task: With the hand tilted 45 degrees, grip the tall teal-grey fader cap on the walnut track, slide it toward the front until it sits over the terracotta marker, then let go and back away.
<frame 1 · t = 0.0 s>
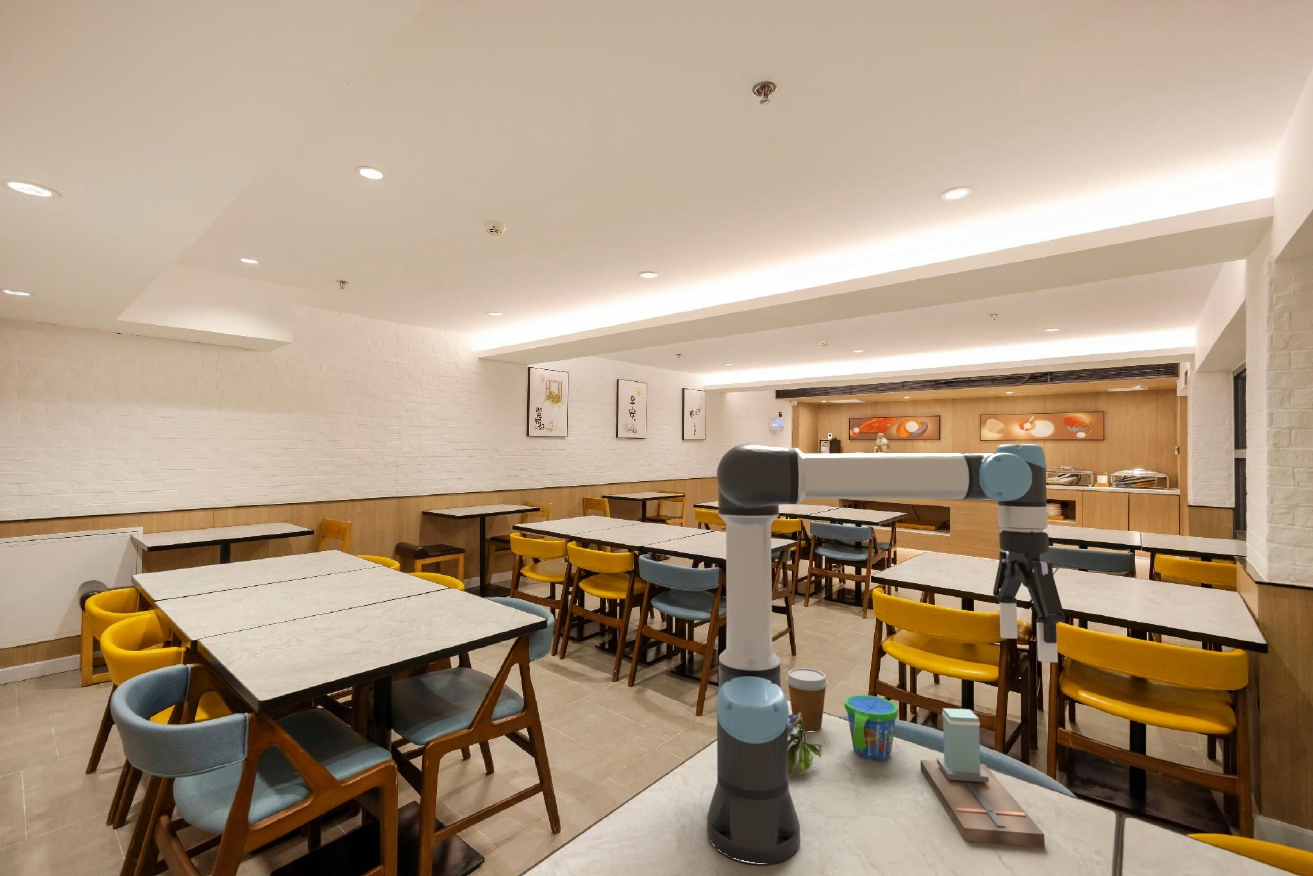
hand: (1027, 649, 102), 28 cm above the table, tool pointing down, fingers open, 13 cm apart
passion flower: (793, 763, 118), on the table
fader track: (975, 804, 103), on the table
disposable coffee cup: (807, 727, 134), on the table
fader cap: (961, 742, 109), point 8 cm above the table, slide at 6.0 cm
snack cup: (872, 754, 121), on the table
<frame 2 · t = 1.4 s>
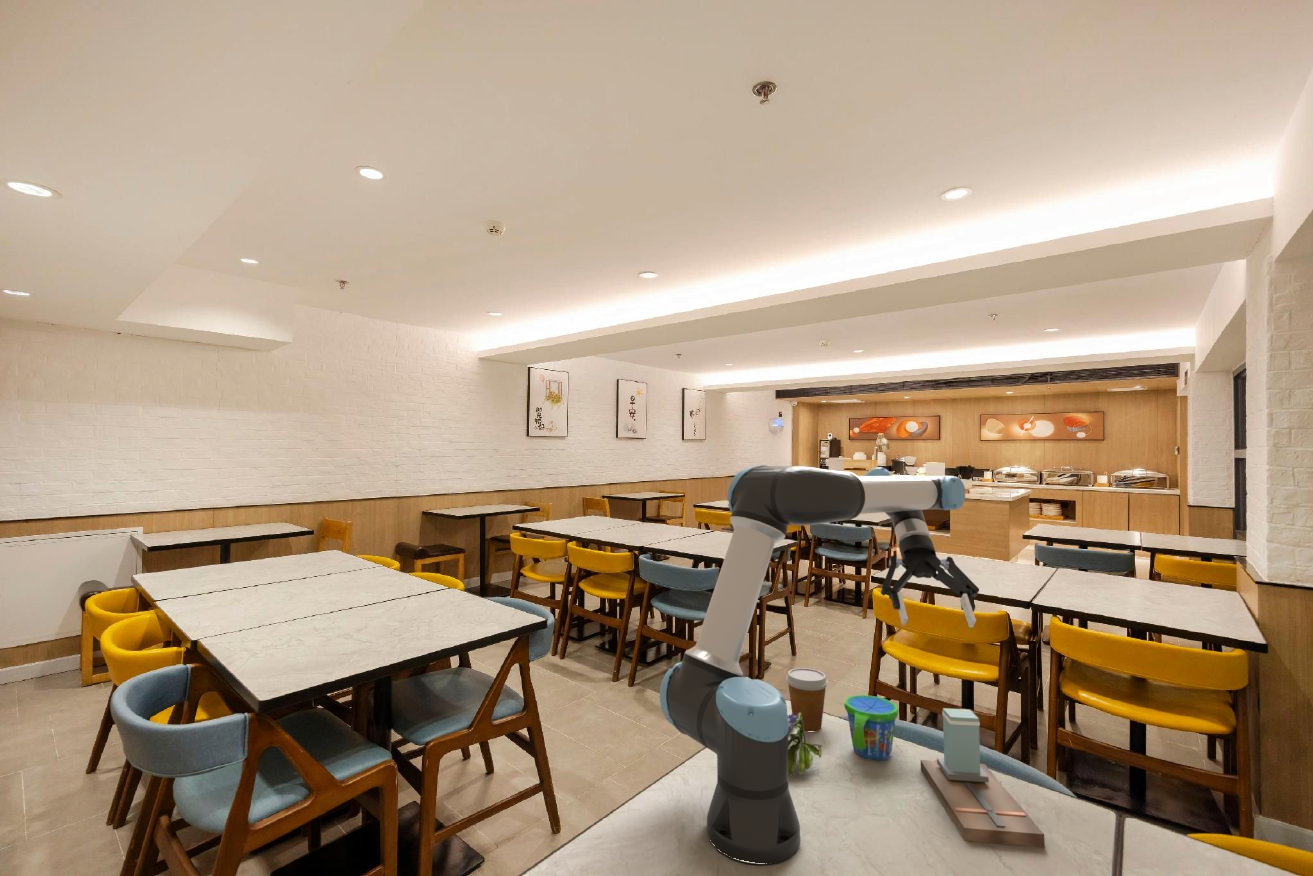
hand: (938, 623, 121), 28 cm above the table, tool tilted 45°, fingers open, 13 cm apart
nothing on the table moved.
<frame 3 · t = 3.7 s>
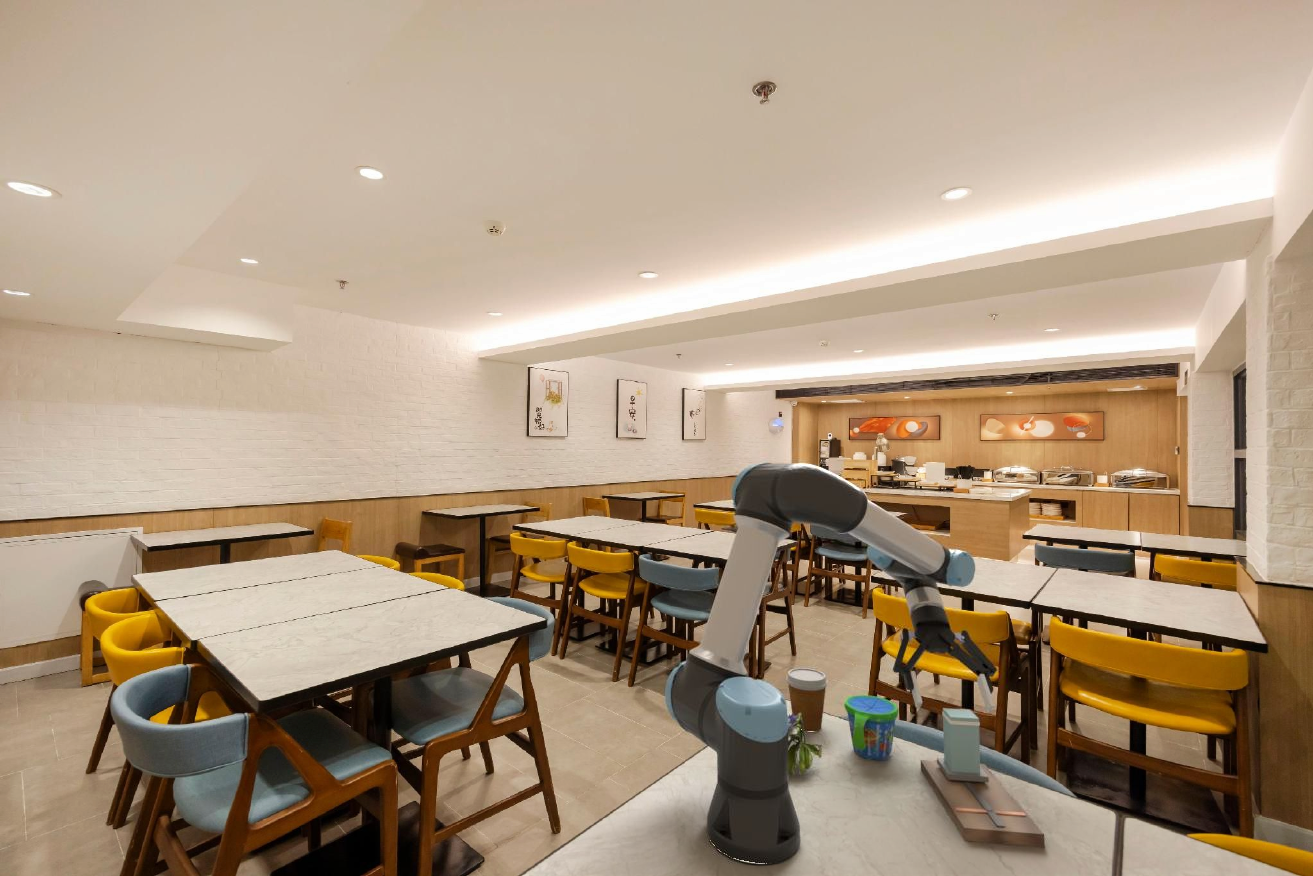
hand: (954, 707, 115), 12 cm above the table, tool tilted 45°, fingers open, 13 cm apart
nothing on the table moved.
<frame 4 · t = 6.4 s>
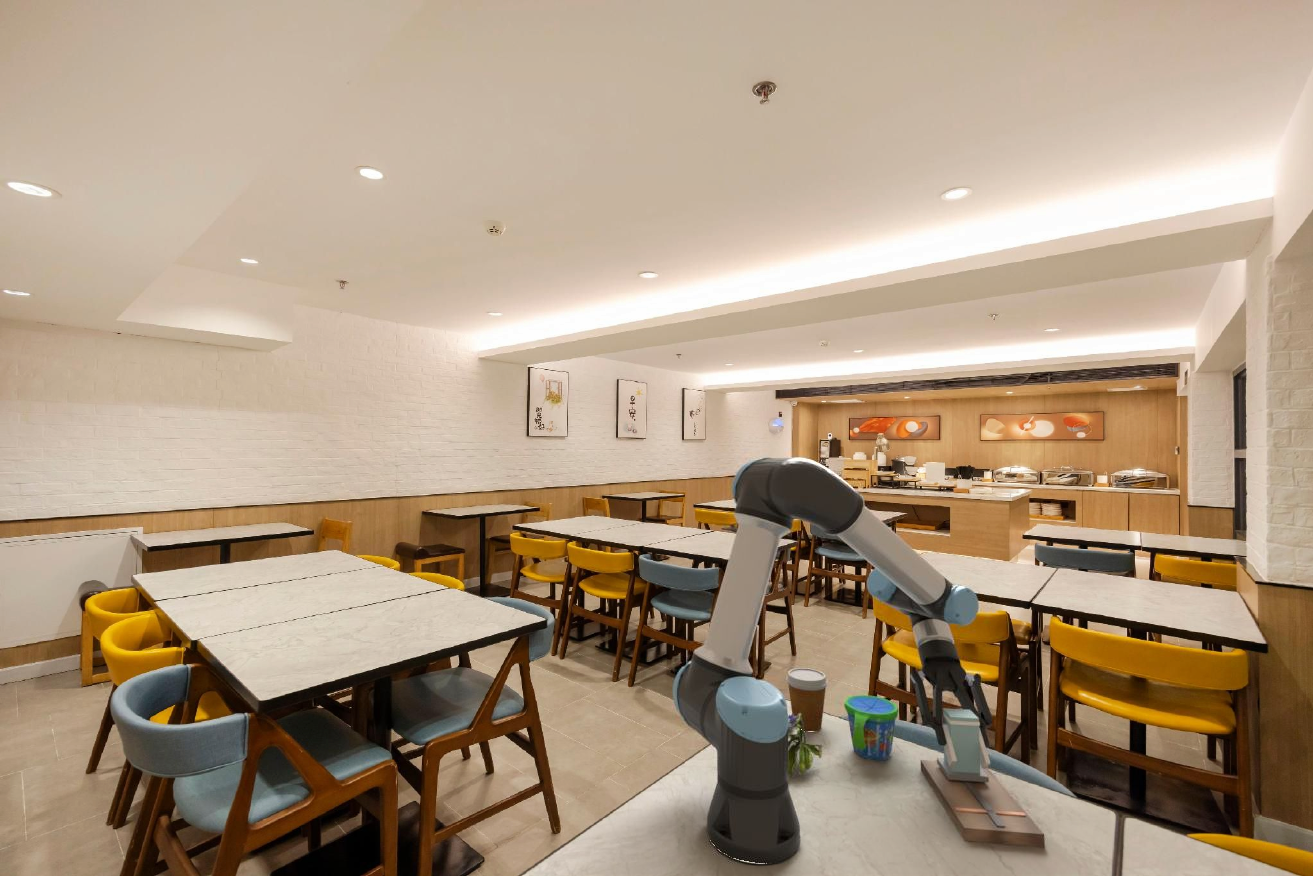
hand: (969, 764, 105), 6 cm above the table, tool tilted 45°, fingers closed on fader cap, 5 cm apart
fader cap: (961, 742, 109), point 8 cm above the table, slide at 6.0 cm, touching gripper
everything else where it was.
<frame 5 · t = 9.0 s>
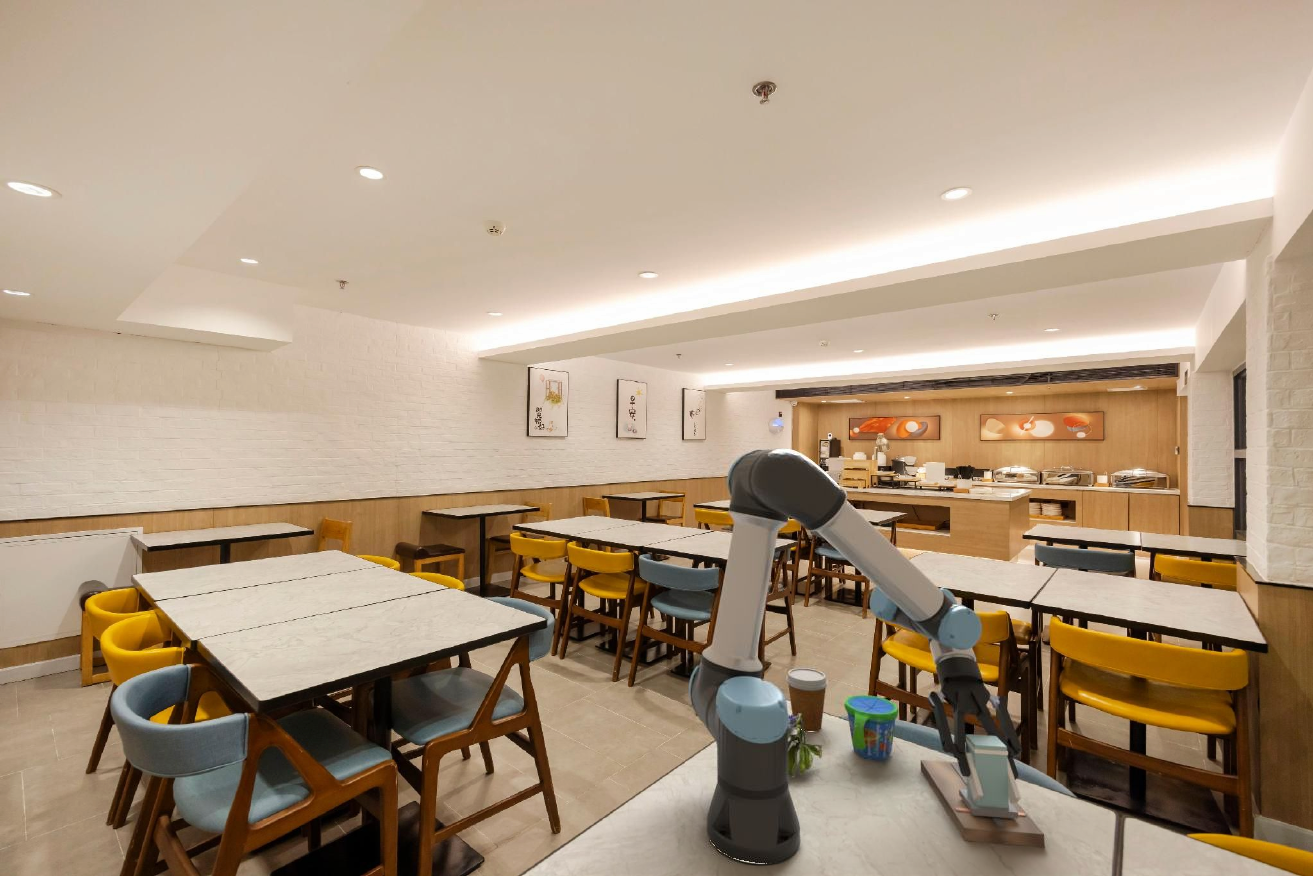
hand: (997, 799, 94), 6 cm above the table, tool tilted 45°, fingers closed on fader cap, 5 cm apart
fader cap: (986, 773, 98), point 8 cm above the table, slide at -5.1 cm, touching gripper
everything else where it was.
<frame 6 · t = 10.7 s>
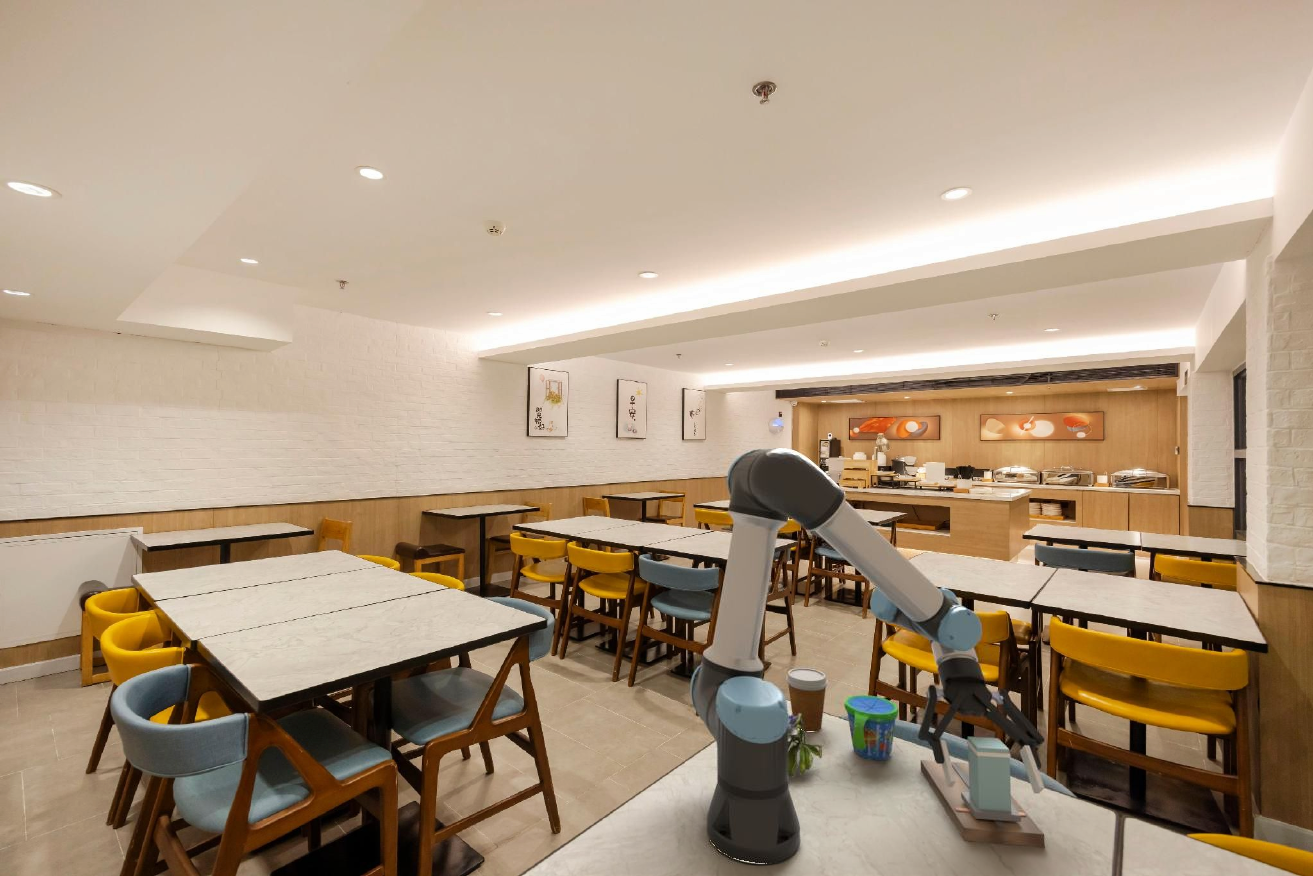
hand: (995, 787, 95), 7 cm above the table, tool tilted 45°, fingers open, 13 cm apart
fader cap: (989, 776, 97), point 8 cm above the table, slide at -6.0 cm
everything else where it was.
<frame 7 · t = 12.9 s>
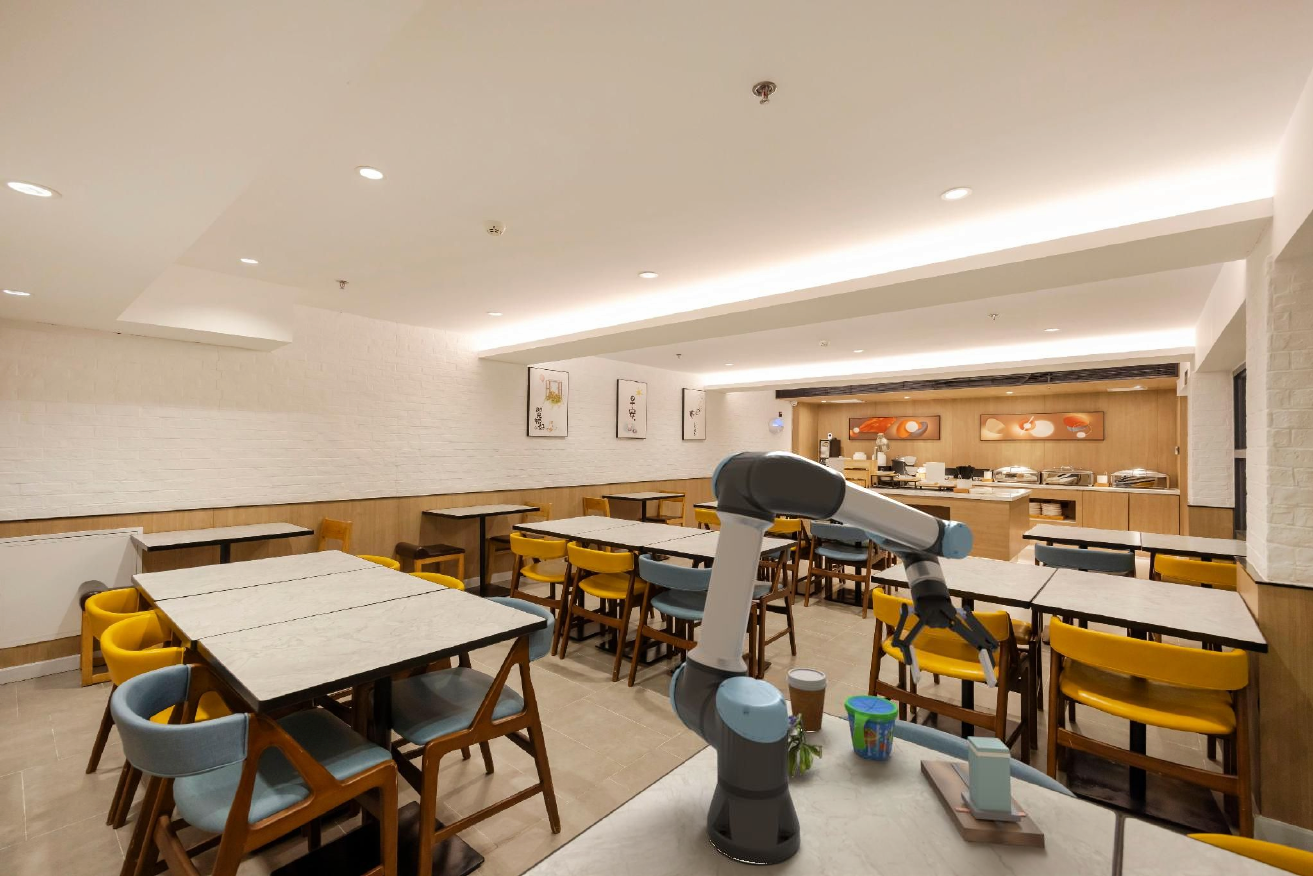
hand: (955, 682, 110), 19 cm above the table, tool tilted 45°, fingers open, 13 cm apart
nothing on the table moved.
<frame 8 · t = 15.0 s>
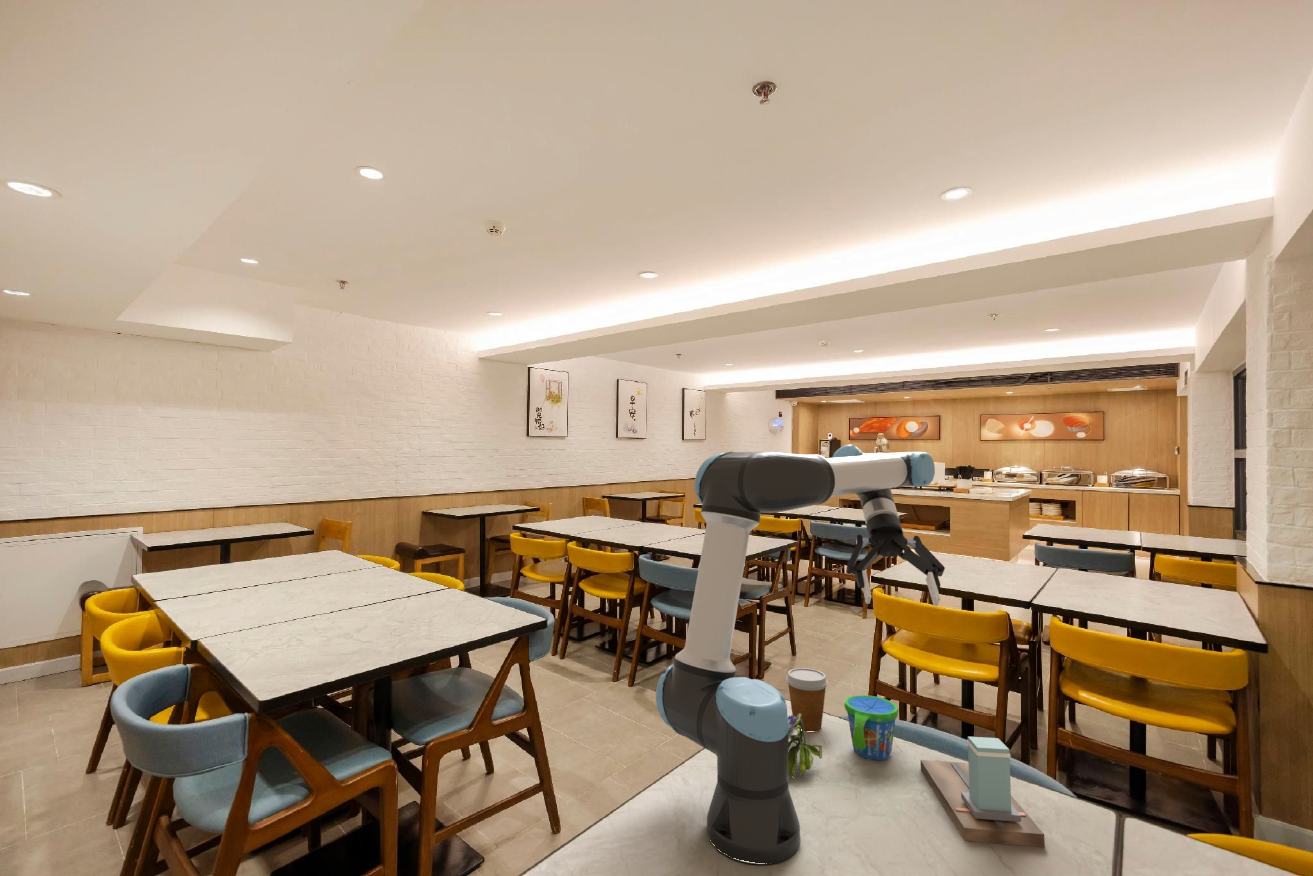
hand: (902, 601, 119), 33 cm above the table, tool tilted 45°, fingers open, 13 cm apart
nothing on the table moved.
at the end: fader cap slide at -6.0 cm; the gripper is holding nothing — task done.
